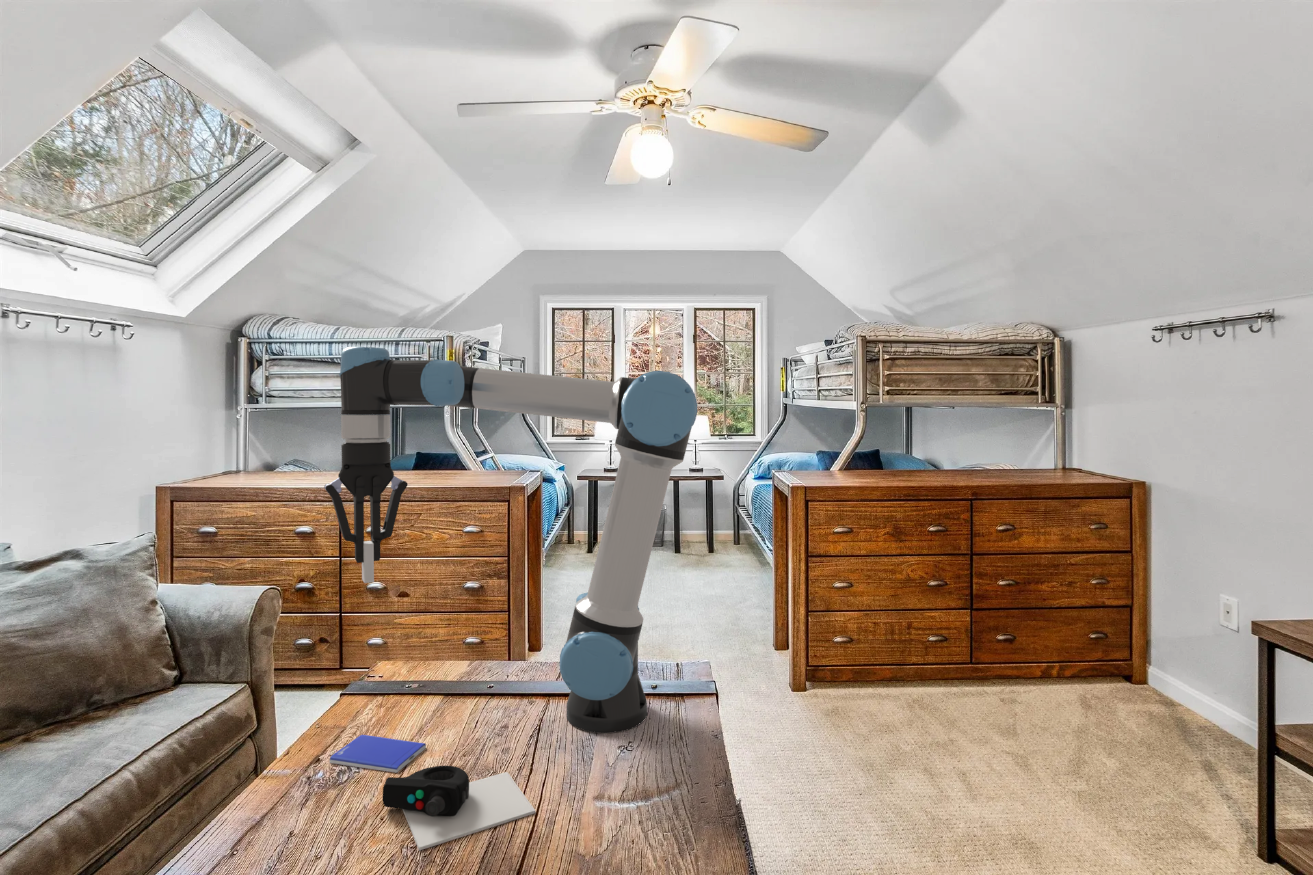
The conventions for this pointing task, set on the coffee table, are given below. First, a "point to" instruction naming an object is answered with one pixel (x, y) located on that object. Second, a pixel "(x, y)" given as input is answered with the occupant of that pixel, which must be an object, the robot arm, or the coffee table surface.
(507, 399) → the robot arm
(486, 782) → the grey mat
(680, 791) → the coffee table surface
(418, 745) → the hard drive
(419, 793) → the controller
